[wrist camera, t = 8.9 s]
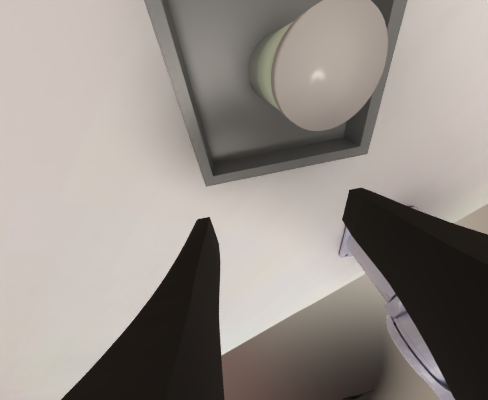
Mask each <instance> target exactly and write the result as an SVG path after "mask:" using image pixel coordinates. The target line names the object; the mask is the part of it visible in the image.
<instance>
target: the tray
mask: <svg viewBox="0 0 488 400" xmlns="http://www.w3.org/2000/svg"><path fill="white" fill-rule="evenodd" d="M144 1H145V4H146V7H147V10H148V13H149V16H150V19H151V22H152V25H153V28H154V31H155V34H156V37H157V40H158V43H159V46H160V49H161V52H162V55H163V58H164V61H165V64H166V67H167V70H168V73H169V76H170V79H171V82H172V85H173V88H174V91H175V94H176V97H177V100H178V103H179V106H180V110H181V113H182V116H183V119H184V122H185V125H186V128H187V131H188V134H189V137H190V140H191V143H192V146H193V149H194V152H195V155H196V158H197V161H198V164H199V167H200V170H201V173H202V176H203V179H204V182H205V185H206V186H211V185H216V184H221V183H226V182H231V181H236V180H240V179H245V178H250V177H255V176H260V175H265V174H270V173H275V172H280V171H285V170H290V169H295V168H300V167H304V166H309V165H314V164H319V163H324V162H329V161H334V160H339V159H344V158H349V157H354V156H359V155H363V154H367V153H368V149H369V145H370V141H371V137H372V133H373V130H374V126H375V122H376V118H377V114H378V110H379V107H380V103H381V99H382V95H383V91H384V87H385V84H386V80H387V76H388V72H389V68H390V64H391V61H392V57H393V53H394V49H395V45H396V42H397V38H398V34H399V30H400V26H401V22H402V19H403V15H404V11H405V7H406V3H407V0H371V1H372V2H373V3H374V4H375V5H376V6H377V7H378V9H379V10H380V12H381V14H382V16H383V18H384V20H385V24H386V28H387V35H388V50H387V57H386V62H385V66H384V70H383V73H382V75H381V78H380V80H379V82H378V84H377V86H376V88H375V90H374V92H373V93H372V95H371V97H370V98H369V99H368V101H367V102H366V103H365V105H364V106H363V107H362V108H361V109H360V110H359V111H358V112H357V113H356V114H355V115H354V116H353V117H351V118H350V119H349V120H347V121H346V122H344V123H343V124H341V125H339V126H337V127H334V128H332V129H328V130H323V131H311V130H306V129H303V128H301V127H299V126H297V125H296V124H295V123H293V122H292V121H290V120H289V119H288V118H286V117H285V116H284V115H283V114H282V113H281V111H280V110H278V109H277V108H275V107H274V106H272V105H271V104H269V103H268V102H267V101H265V100H264V99H262V98H261V97H259V96H258V95H257V94H256V93H255V91H254V90H253V88H252V86H251V84H250V81H249V75H248V67H249V61H250V57H251V55H252V52H253V50H254V49H255V47H256V46H257V44H258V43H259V42H260V41H261V40H262V39H264V38H265V37H267V36H269V35H270V34H272V33H274V32H276V31H277V30H279V29H281V28H283V27H284V26H286V25H288V24H290V23H292V22H293V21H295V19H296V18H298V17H299V16H300V15H301V14H302V13H303V12H305V11H306V10H308V9H309V8H311V7H313V6H314V5H316V4H318V3H319V2H321V1H323V0H144Z"/></svg>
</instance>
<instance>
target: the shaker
mask: <svg viewBox="0 0 488 400" xmlns="http://www.w3.org/2000/svg"><path fill="white" fill-rule="evenodd" d="M387 50H388V35H387V28H386V24H385V20H384V18H383V16H382V14H381V12H380V10H379V9H378V7H377V6H376V5H375V4H374V3H373V2H372V1H371V0H323V1H321V2H319V3H318V4H316V5H314V6H313V7H311V8H309V9H308V10H306V11H305V12H303V13H302V14H301V15H300V16H299V17H298V18H296V19H295V21H293V22H292V23H290V24H288V25H286V26H284V27H283V28H281V29H279V30H277V31H276V32H274V33H272V34H270V35H269V36H267V37H265V38H264V39H262V40H261V41H260V42H259V43H258V44H257V46H256V47H255V49H254V50H253V52H252V55H251V57H250V61H249V67H248V75H249V81H250V84H251V86H252V88H253V90H254V91H255V93H256V94H257V95H258V96H259V97H261V98H262V99H264V100H265V101H267V102H268V103H269V104H271V105H272V106H274V107H275V108H277V109H278V110H280V111H281V113H282V114H283V115H284V116H285V117H286V118H288V119H289V120H290V121H292V122H293V123H295V124H296V125H297V126H299V127H301V128H303V129H306V130H311V131H323V130H328V129H332V128H334V127H337V126H339V125H341V124H343V123H344V122H346V121H347V120H349V119H350V118H351V117H353V116H354V115H355V114H356V113H357V112H358V111H359V110H360V109H361V108H362V107H363V106H364V105H365V103H366V102H367V101H368V99H369V98H370V97H371V95H372V93H373V92H374V90H375V88H376V86H377V84H378V82H379V80H380V78H381V75H382V73H383V70H384V66H385V62H386V57H387Z"/></svg>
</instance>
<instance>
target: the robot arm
mask: <svg viewBox="0 0 488 400" xmlns="http://www.w3.org/2000/svg"><path fill="white" fill-rule="evenodd" d="M342 220H343V222H344V223H345V225H346V229H345V233H344V237H343V241H342V245H341V249H340V253H339V256H340V257H341V258H344V257H348V256H354V258H355V259H356V260H357V262H358V263H359V264H360V266H361V267H362V268H363V270H364V271H365V273H366V274H367V275H368V277H369V278H370V279H371V281H372V282H373V284H374V285H375V286H376V288H377V289H378V290H379V292H380V293H381V294H382V296H383V297H384V299H385V300H386V301H387V303H388V304H386V305H385V308H386V309H387V310H388V312H389V313H390V314H388V315H387V316H386V320H387V328H388V331H389V333H390V336H391V337H392V339H393V341H394V343H395V344H396V346H397V348H398V349H399V351H400V352H401V354H402V355H403V356H404V358H405V359H406V360H407V362H408V363H409V364H410V365H411V366H412V368H413V369H414V370H415V371H416V372H417V373H418V374H419V375H420V376H421V377H422V378H423V379H424V380H425V381H426V382H427V383H428V385H429V386H430V387H431V388H432V390H433V391H434V392H435V393H436V394H437V396H438V397H439V398H440V399H441V400H488V235H487V234H484V233H481V232H478V231H475V230H471V229H468V228H465V227H462V226H459V225H456V224H453V223H450V222H447V221H445V220H442V219H439V218H436V217H434V216H431V215H428V214H426V213H423V212H420V211H418V209H417V208H416V207H408V206H406V205H403V204H401V203H398V202H396V201H393V200H391V199H389V198H386V197H384V196H381V195H379V194H377V193H374V192H372V191H369V190H366V189H363V188H357V189H352V190H349V194H348V198H347V202H346V206H345V210H344V215H343V219H342ZM219 287H220V252H219V243H218V240H217V237H216V234H215V231H214V228H213V225H212V222H211V220H210V217H207V218H202V219H198V220H197V221H196V223H195V225H194V227H193V229H192V231H191V233H190V235H189V237H188V239H187V241H186V243H185V245H184V246H183V248H182V250H181V252H180V254H179V255H178V257H177V259H176V261H175V262H174V264H173V265H172V267H171V269H170V270H169V272H168V273H167V275H166V277H165V278H164V280H163V281H162V283H161V284H160V285H159V287H158V288H157V290H156V291H155V293H154V294H153V295H152V297H151V298H150V299H149V301H148V302H147V303H146V305H145V306H144V307H143V309H142V310H141V311H140V312H139V314H138V315H137V316H136V318H135V319H134V320H133V321H132V322H131V324H130V325H129V326H128V327H127V329H126V330H125V331H124V332H123V333H122V334H121V335H120V337H119V338H118V339H117V340H116V341H115V342H114V343H113V345H112V346H111V347H110V348H109V349H108V350H107V351H106V353H105V354H104V355H103V356H102V357H101V358H100V359H99V360H98V362H97V363H96V364H95V365H94V366H93V367H92V368H91V369H90V370H89V371H88V372H87V373H86V375H85V376H84V377H83V378H82V379H81V380H80V381H79V382H78V383H77V384H76V385H75V386H74V387H73V388H72V389H71V390H70V391H69V392H68V393H67V394H66V395H65V396H64V397H63V398H62V399H61V400H224V389H223V376H222V362H221V346H220V329H219Z"/></svg>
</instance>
